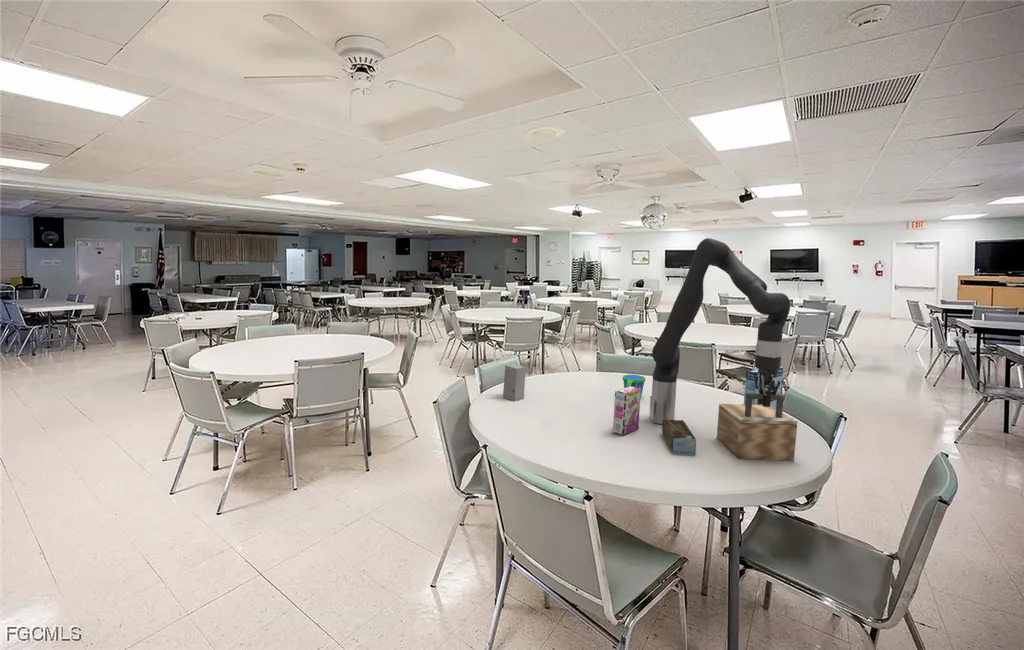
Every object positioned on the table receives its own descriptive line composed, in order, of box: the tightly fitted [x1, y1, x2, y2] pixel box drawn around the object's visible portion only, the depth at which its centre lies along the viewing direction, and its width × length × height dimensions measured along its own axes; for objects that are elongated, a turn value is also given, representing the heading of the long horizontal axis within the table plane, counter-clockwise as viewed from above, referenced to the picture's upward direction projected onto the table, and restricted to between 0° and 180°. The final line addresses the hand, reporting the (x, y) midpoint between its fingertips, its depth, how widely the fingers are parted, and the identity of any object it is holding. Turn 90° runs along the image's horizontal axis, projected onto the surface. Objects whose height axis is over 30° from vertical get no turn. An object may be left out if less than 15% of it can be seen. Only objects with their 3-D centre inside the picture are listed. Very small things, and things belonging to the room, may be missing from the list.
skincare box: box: [502, 363, 527, 402], centre depth 218 cm, size 8×7×16 cm
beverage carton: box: [661, 419, 697, 456], centre depth 163 cm, size 8×19×7 cm, turn 172°
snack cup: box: [622, 374, 646, 399], centre depth 222 cm, size 16×10×10 cm
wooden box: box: [716, 406, 798, 461], centre depth 160 cm, size 18×18×12 cm
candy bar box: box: [612, 386, 642, 437], centre depth 175 cm, size 11×5×16 cm, turn 134°
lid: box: [718, 393, 799, 426], centre depth 158 cm, size 18×18×9 cm
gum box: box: [743, 366, 784, 409], centre depth 185 cm, size 20×5×23 cm, turn 123°
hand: (764, 405), depth 153 cm, fingers open, 2 cm apart
